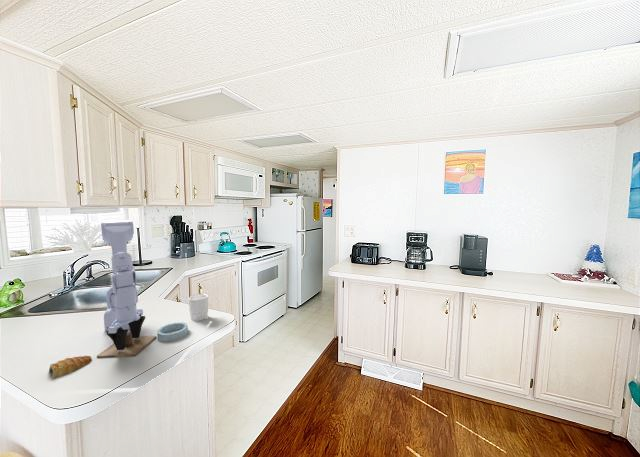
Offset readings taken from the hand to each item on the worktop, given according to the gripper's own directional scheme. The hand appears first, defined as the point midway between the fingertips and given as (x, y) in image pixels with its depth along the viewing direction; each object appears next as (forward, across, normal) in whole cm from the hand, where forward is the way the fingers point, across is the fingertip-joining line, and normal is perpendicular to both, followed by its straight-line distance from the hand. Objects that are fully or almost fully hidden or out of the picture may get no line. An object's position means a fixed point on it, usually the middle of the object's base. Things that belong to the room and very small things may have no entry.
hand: (128, 343), depth 89 cm
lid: (+1, 0, 0) cm, 1 cm away
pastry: (+3, -11, +10) cm, 15 cm away
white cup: (+2, +23, -15) cm, 28 cm away
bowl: (+2, +8, -11) cm, 14 cm away
